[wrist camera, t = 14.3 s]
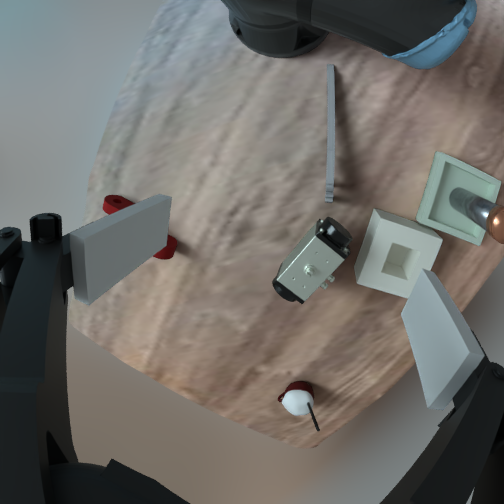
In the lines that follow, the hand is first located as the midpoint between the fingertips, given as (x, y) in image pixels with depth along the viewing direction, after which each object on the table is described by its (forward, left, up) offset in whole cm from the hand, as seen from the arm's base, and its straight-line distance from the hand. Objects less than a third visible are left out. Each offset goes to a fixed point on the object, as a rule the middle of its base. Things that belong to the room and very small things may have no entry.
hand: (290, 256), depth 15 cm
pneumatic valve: (+10, +3, -32) cm, 34 cm away
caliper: (-7, +1, -32) cm, 33 cm away
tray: (-4, +23, -32) cm, 39 cm away
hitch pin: (-4, +23, -31) cm, 39 cm away
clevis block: (+7, +15, -32) cm, 36 cm away
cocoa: (+41, +10, -32) cm, 53 cm away
